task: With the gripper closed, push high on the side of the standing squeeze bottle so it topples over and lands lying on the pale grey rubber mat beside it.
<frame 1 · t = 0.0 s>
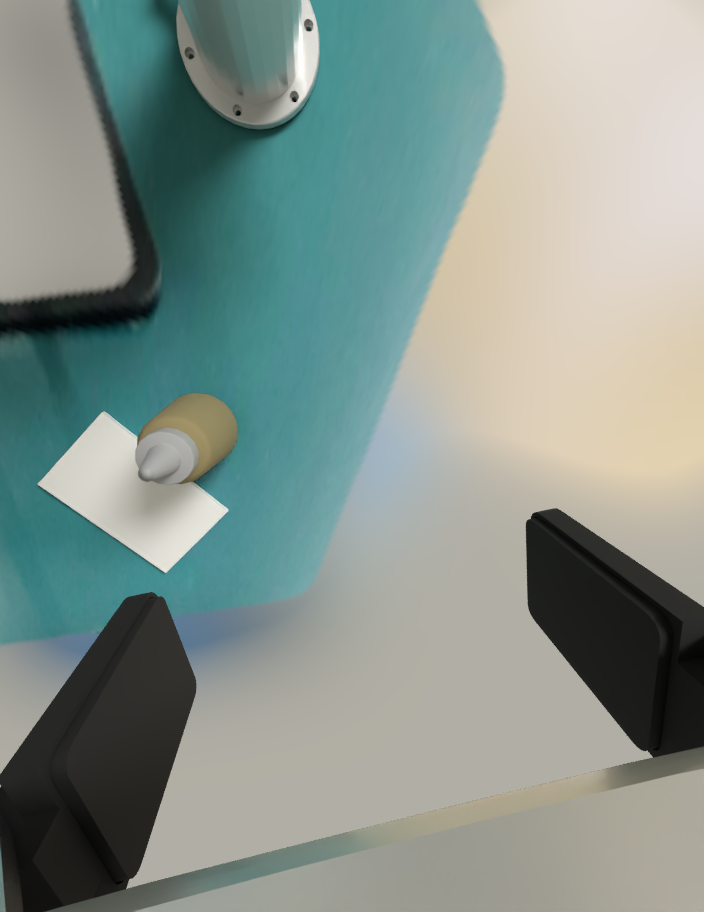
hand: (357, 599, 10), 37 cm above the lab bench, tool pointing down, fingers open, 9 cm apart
mat: (138, 496, 46), on the lab bench
squeeze bottle: (209, 422, 45), on the lab bench
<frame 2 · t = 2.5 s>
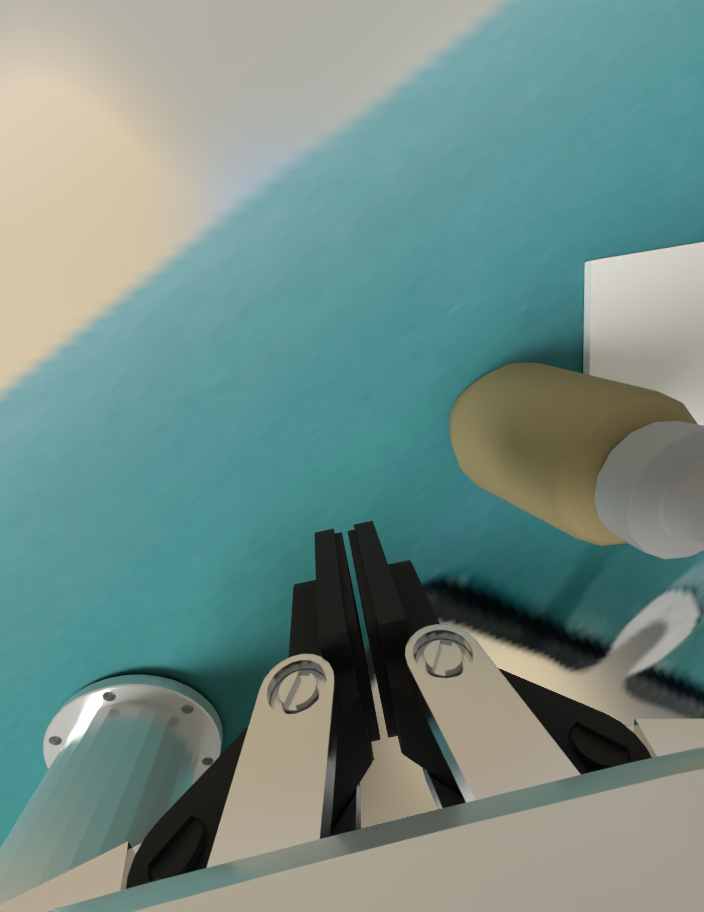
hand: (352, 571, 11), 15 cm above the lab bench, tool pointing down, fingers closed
mat: (660, 386, 27), on the lab bench
squeeze bottle: (486, 419, 26), on the lab bench
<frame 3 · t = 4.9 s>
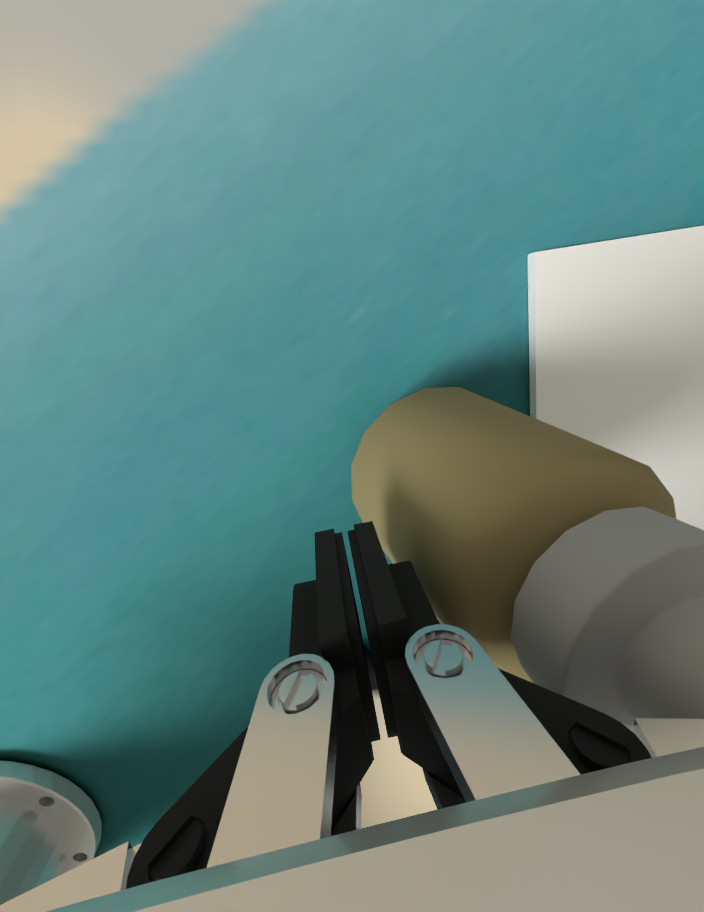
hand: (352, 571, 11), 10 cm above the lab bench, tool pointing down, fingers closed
mat: (629, 412, 21), on the lab bench
squeeze bottle: (409, 454, 21), on the lab bench
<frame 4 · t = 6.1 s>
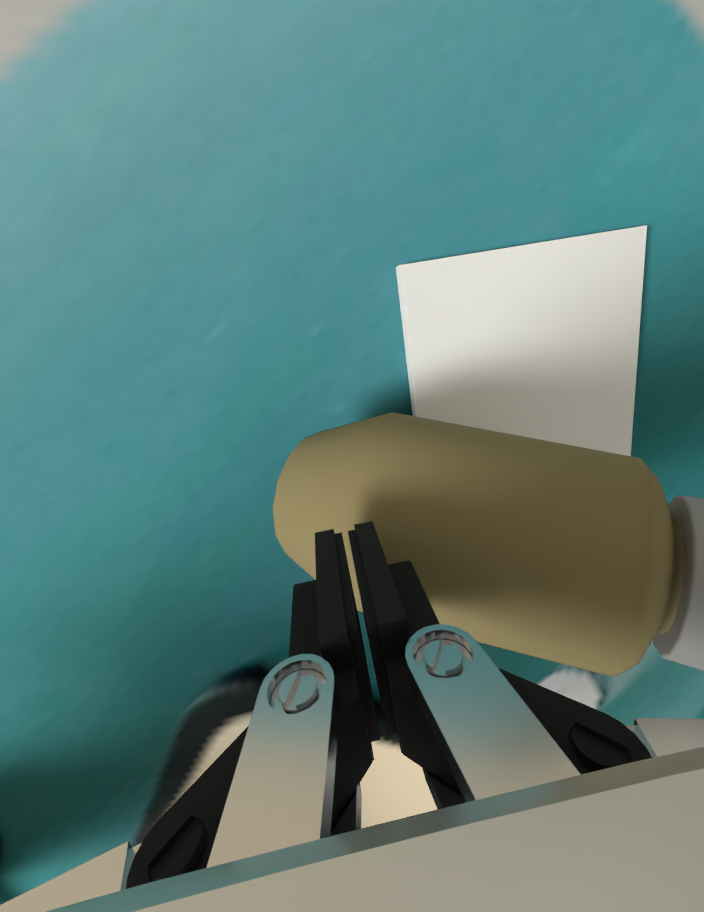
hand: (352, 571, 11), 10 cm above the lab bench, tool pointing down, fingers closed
mat: (522, 429, 21), on the lab bench
squeeze bottle: (309, 494, 17), point 3 cm above the lab bench
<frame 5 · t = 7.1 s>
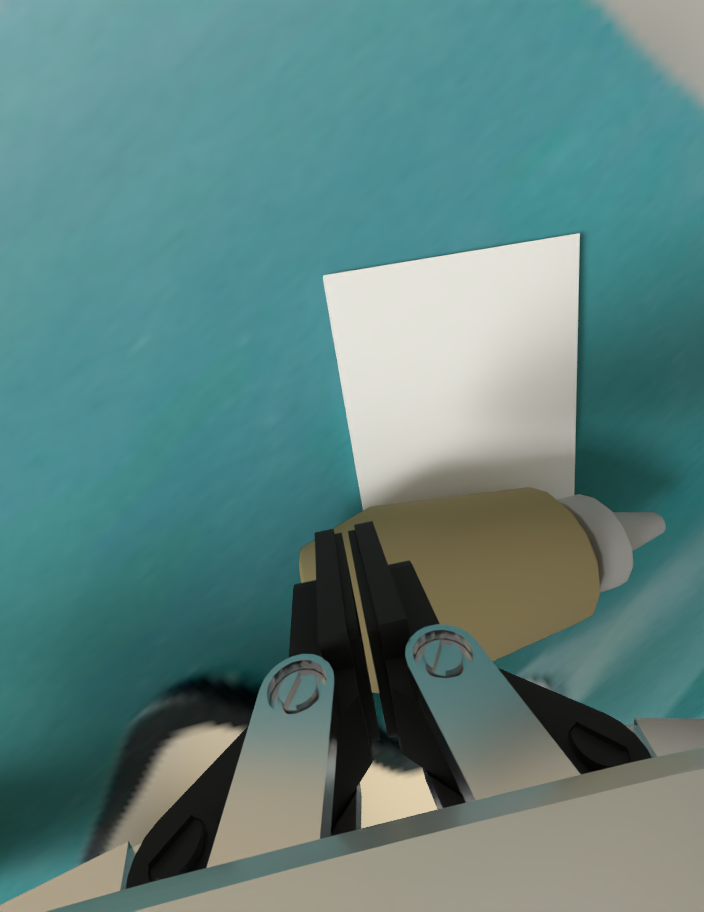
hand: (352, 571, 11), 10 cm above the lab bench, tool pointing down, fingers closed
mat: (463, 439, 20), on the lab bench
squeeze bottle: (304, 616, 16), point 5 cm above the lab bench, touching mat
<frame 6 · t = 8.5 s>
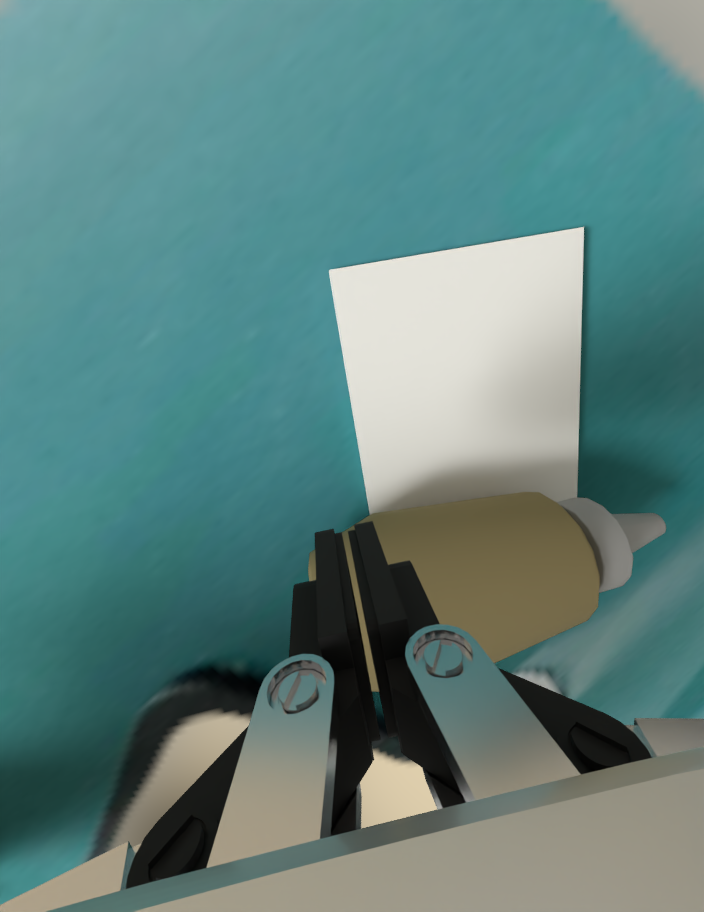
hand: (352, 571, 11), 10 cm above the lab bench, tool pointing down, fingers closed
mat: (467, 433, 21), on the lab bench
squeeze bottle: (314, 619, 17), point 5 cm above the lab bench, touching mat
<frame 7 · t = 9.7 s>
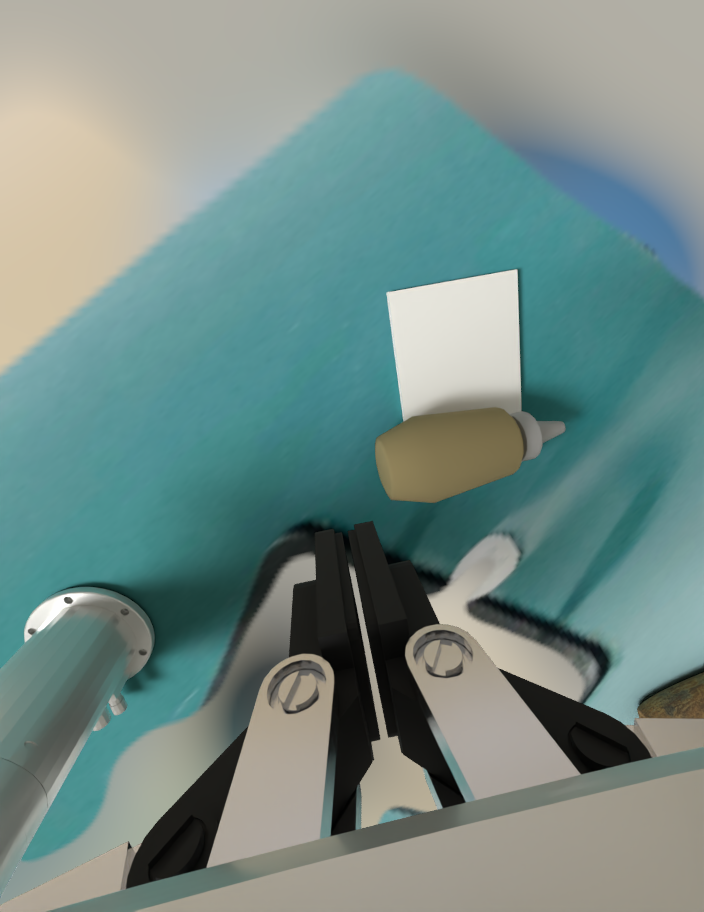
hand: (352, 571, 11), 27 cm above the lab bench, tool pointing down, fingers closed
brown hollow cylinder: (676, 686, 54), on the lab bench
mat: (458, 380, 37), on the lab bench
squeeze bottle: (380, 469, 34), point 5 cm above the lab bench, touching mat
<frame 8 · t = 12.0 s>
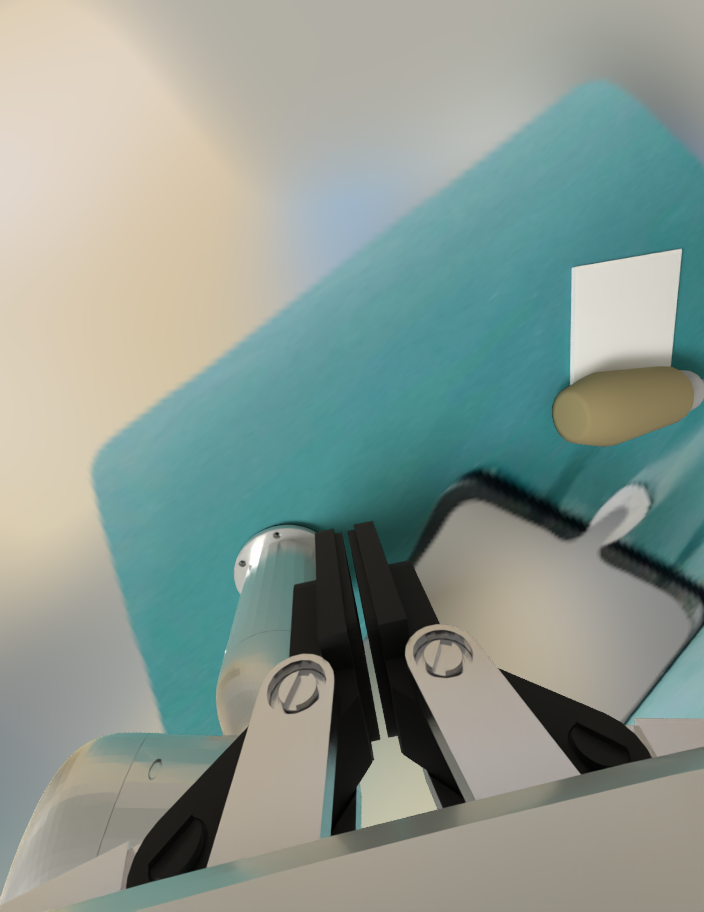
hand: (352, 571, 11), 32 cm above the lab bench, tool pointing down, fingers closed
mat: (620, 344, 43), on the lab bench
squeeze bottle: (567, 417, 40), point 5 cm above the lab bench, touching mat
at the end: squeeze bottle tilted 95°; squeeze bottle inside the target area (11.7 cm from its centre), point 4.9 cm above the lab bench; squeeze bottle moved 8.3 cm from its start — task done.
